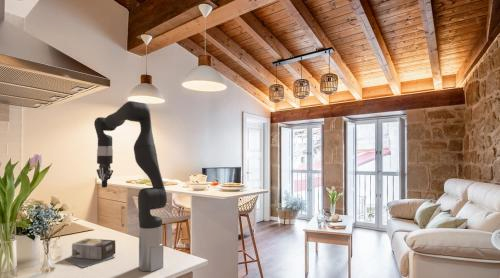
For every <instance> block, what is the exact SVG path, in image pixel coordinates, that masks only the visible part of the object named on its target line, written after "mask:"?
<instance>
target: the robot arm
mask: <svg viewBox="0 0 500 278" xmlns="http://www.w3.org/2000/svg"><path fill="white" fill-rule="evenodd" d="M151 118H152V117H151V110H150V108H149V105H148V104H146V103H144V102H139V101H131V100H130V101H126V102H125V103H124V104H122V106H121V107H119V108H118V109H117V110H116V111H115V112H113V113H111V114H109V115H107V116H106V117H102V116H101V117H100V116H99V117H96V118H95V120H94V122H93V123H94V124H93V125H94V129H95V133H96V136H97V149H96V165H97V164H98V169H96V174H97V176H98V179H99V180H100V181H101V187H102V188H103V189H104V188H108V180H110V179H111V178H112V175H113V172H114V170H113V169H111V164H113V159H114V158H113V157H114V156H113V155H114V153H113V151H114V150H113V136H111V135H110V134H109V135H108V134H106V133H105V132H106V131H107V132H113V131H115V130H116V129H117V128H118V127H120V126H122V125H124V123H125V122H126V121H130V122H136V123H139V125H140V132H139V135H138V136H137V138H136V140H135V142H134V145H133V154H134V159H135V162H136V164H137V166H138V167H139V168H140V169H141V170H142V171H143V172H144V173H145V175H146V176H147V177H148V179H149V181H150V182H151V186H152V187H145V188H143V187H142V188H141V189H140V190H139V191H138V194H137V208H138V209H137V211H138V224H139V227H138V230H139V231H138V270H139V271H142V272H151V273H152V272H155V271H156V270H160V269H162V268H164V243H163V218H162V217H160V216H155V215H152V214H151V211H152V210H157V209H158V210H159V209H163V208H164V207H166V205H167V203H168V201H167V200H168V198H167V191H166V187H165V184H164V180H163V177H162V174H161V170H160V164H159V161H158V154H157V148H156V143H155V140H154V136H153V129H152V120H151ZM104 131H105V132H104Z"/></svg>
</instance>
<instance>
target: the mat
mask: <svg viewBox="0 0 500 278" xmlns="http://www.w3.org/2000/svg"><path fill="white" fill-rule="evenodd" d="M112 259H115V256H114V255H112V256H110V257H108V258H106V259H104V260H97V259H87V258H76V257H72V256H71V257H67V258H64V260H65V261H66V262H69V263H71V264H73V265H75V266H77V267H78V268H82V269H85V268H88V267H91V266H94V265H98V264H101V263H103V262H107V261H109V260H110V261H111V260H112Z"/></svg>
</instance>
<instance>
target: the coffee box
mask: <svg viewBox="0 0 500 278" xmlns="http://www.w3.org/2000/svg"><path fill="white" fill-rule="evenodd" d="M115 254H116V240H115V239H113V240H112V239H103V238H102V239H101V238H87V237H85V238H83V239H82V240H81V239H80V240H78V241H76V242H74V243H72V244H71V257H76V258H87V259H97V260H104V259H106V258H108V257H110V256H114V255H115Z"/></svg>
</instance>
